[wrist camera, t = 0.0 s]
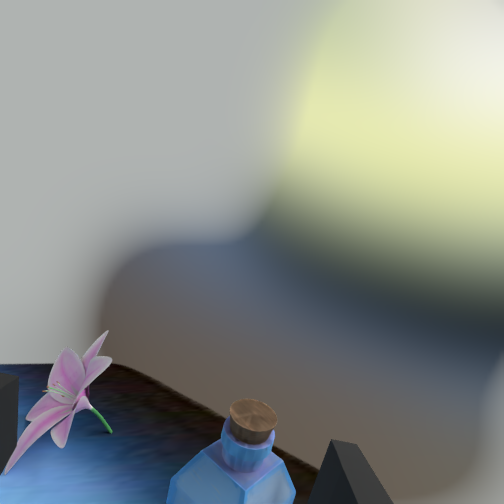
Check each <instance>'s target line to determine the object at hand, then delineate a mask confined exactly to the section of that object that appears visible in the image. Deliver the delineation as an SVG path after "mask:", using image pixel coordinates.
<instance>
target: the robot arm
mask: <svg viewBox="0 0 504 504" xmlns="http://www.w3.org/2000/svg"><path fill="white" fill-rule="evenodd" d="M18 391H19V376H14V375H9V374H4V373H0V475H1V473H2V471H3V470H4V468H5V466H6V464H7V463H8V461H9V459H10V457H11V456H12V454H13V452H14V450H15V448H16V447H17V425H18ZM308 504H393V502H392V500H391V499H390V497H389V496H388V494H387V493H386V491H385V489H384V488H383V486H382V484H381V483H380V481H379V480H378V478H377V476H376V475H375V473H374V471H373V470H372V468H371V467H370V465H369V464H368V462H367V460H366V458H365V457H364V455H363V454H362V452H361V450H360V449H359V447H358V446H357V444H352V443H348V442H343V441H337V440H332V439H331V441H330V444H329V446H328V449H327V452H326V455H325V457H324V460H323V462H322V465H321V468H320V471H319V473H318V476H317V479H316V481H315V484H314V487H313V489H312V492H311V495H310V497H309V500H308Z"/></svg>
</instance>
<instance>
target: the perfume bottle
mask: <svg viewBox="0 0 504 504" xmlns="http://www.w3.org/2000/svg"><path fill="white" fill-rule="evenodd" d="M276 423H277V417H276V414H275V412H274V411H273V410H272V409H271V408H270V407H269V406H268V405H266V404H264V403H263V402H260V401H257V400H253V399H241V400H238V401H235V402H234V403H233V404H232V405H231V407H230V416H229V417H228V418H227V419H226V421H225V423H224V426H223V430H222V434H221V439H220V440H218V441H216V442H215V443H213V444H212V445H210V446H208V447H207V448H205V449H203V450H202V451H200V452H199V453H198V454H197V455H196V456H195V457H194V458H193V459H192V460H191V461H189V462H188V463H187V464H186V465H185V466H184V467H183V468H182V469H181V470H180V471H179V472H178V473H176V474H175V475H174V476H173V477H172V478H171V482H170V487H169V492H168V496H167V501H166V504H293V500H294V497H295V494H296V491H295V488H294V486H293V484H292V481H291V479H290V476H289V474H288V471H287V469H286V467H285V464H284V462H283V460H281V459H280V458H279V457H278V456H276V455H275V454H274V453H273V452H271V449H272V445H273V442H274V438H275V434H274V430H273V429H274V427H275V425H276Z"/></svg>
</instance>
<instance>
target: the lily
mask: <svg viewBox="0 0 504 504" xmlns="http://www.w3.org/2000/svg"><path fill="white" fill-rule="evenodd" d="M107 333H108V331H106V332H105V333H104V334H103V335H101V336H100V337H99V338H98V339H97V340H96V341H95V342H94V343H93V345H92V346H91V347H90V348H89V349H88V350H87V352H86V353H85V354H84V355H83V357H82V359H81V360H80V358H79V356H78V355H77V354H76V353H75V352H74V351H73V350H71V349H70V348H68V347H65V348H64V349H63V350H62V351H61V352H60V354H59V356H58V358H57V360H56V361H55V363H54V365H53V368H52V370H51V373H50V376H49V380H48V386H47V388H48V391H49V392H48V393H47V394H46V395H44V396H43V397H42V398H41V399H40V400H39V401H38V402H37V403H36V404H35V405H34V407H33V408H32V409H31V410H30V411H29V413H28V414H27V416H26V420H28V421H32V422H31V423H30V424H29V425H28V427H27V428H26V429H25V431H24V432H23V434H22V435H21V437H20V438H19V440H18V442H17V447H16V448H15V450H14V452H13V454H12V456H11V457H10V459H9V461H8V463H7V466H6V468H5V474H4V475H6V474H7V473H8V471H9V470H10V469H11V468H12V467H13V466H14V464H15V463H16V462H17V461H18V459H19V458H20V457H21V456H22V455H23V454H24V452H25V451H26V450H27V449H28V448H29V447H30V446H31V445H32V444H33V443H34V442H35V441H36V440H37V439H38V438H39V437H40V436H41V435H43V434H44V433H45V432H46V431H47V430H48V429H50V428H51V427H52V426H54V425H55V424H56V423H57V422H59V421H60V420H62V419H63V418H64V417H66V416H67V415H69V414H70V415H69V416H68V417H67V418H65V419H63V420H62V421H60V422H59V423H57V424H56V425H55V426H54V427H53V428H52V429H51V437H52V439H53V441H54V442H55V443H56V445H57V446H58V447H60V448H64V446H65V444H66V441H67V438H68V434H69V431H70V427H71V423H72V420H73V417H74V414H75V413H77V412H79V411H80V410H83V409H89V410H90V411H92V412H93V413H94V414H95V415H96V416H97V417H98V418H99V419H100V420H101V422H102V423H103V424H104V426H105V427H106V429H107V430H108V432H109V433H112V430H111V428H110V427H109V425H108V424H107V422H106V421H105V420H104V418H103V417H102V416H101V415H100V414H99V413H98V411H97V410H95V409H94V408H93V407H92V406H91V405H90V403H89V384H90V383H91V382H92V381H93V380H94V379H95V378H96V377H97V376H99V375H100V374H101V373H102V372H103V371H104V370H105V369H106V368H107V367H108V366H109V365H110V364H111V362H112V358H110V357H106V356H97V353H98V351H99V349H100V347H101V345H102V343H103V341H104V339H105V337H106V335H107ZM96 356H97V357H96ZM42 392H47V391H42Z"/></svg>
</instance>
